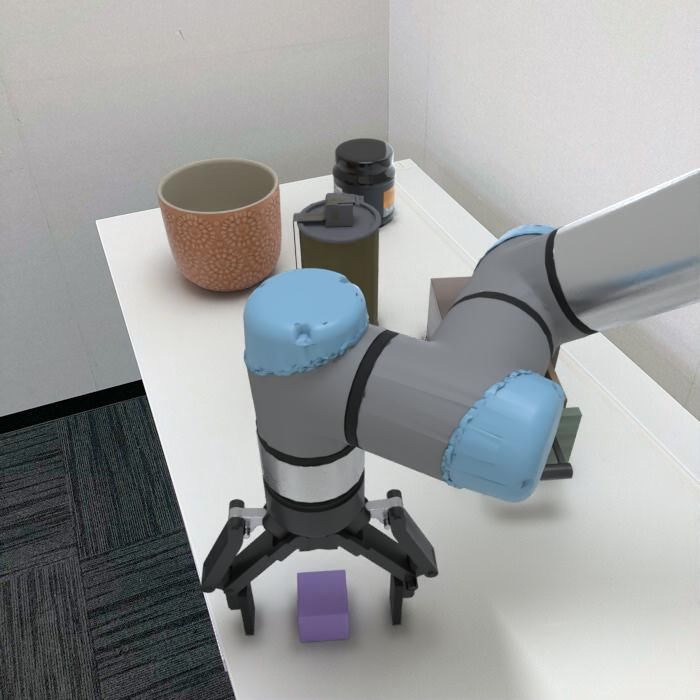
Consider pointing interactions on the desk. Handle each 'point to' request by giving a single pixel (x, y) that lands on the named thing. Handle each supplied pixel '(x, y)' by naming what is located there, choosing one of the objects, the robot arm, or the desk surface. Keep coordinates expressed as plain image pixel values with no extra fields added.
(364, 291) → the canister
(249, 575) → the robot arm
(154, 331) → the desk surface
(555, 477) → the green drawer
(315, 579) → the lavender cube
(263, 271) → the planter
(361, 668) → the desk surface
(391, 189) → the supplement container
